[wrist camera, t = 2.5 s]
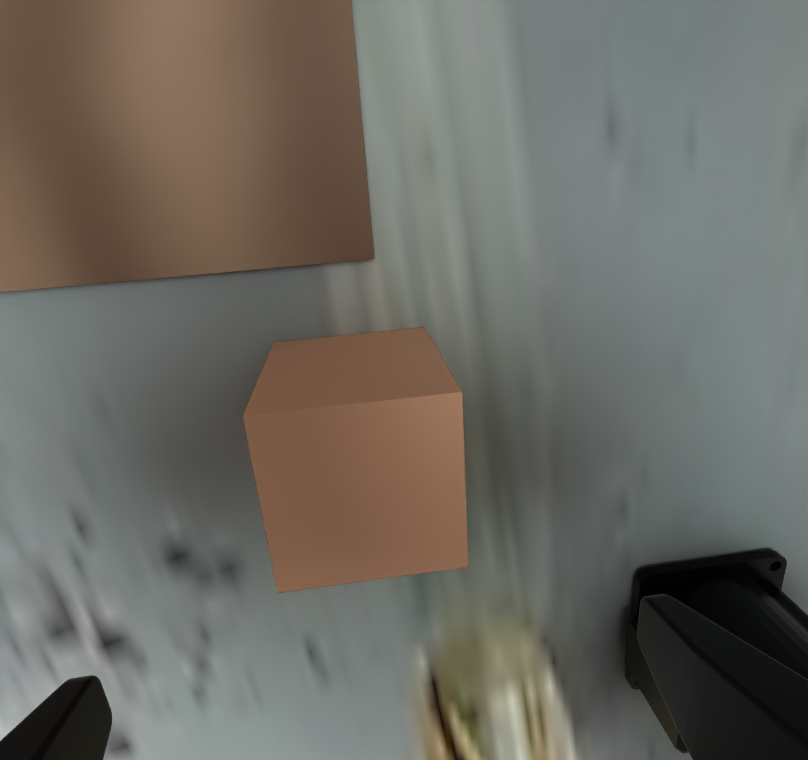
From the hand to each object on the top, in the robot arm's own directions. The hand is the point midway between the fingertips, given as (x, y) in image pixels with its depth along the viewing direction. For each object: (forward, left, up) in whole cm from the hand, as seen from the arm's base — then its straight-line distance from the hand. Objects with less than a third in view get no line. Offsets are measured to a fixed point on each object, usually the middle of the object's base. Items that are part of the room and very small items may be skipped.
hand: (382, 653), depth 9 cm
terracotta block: (0, 0, -11) cm, 11 cm away
